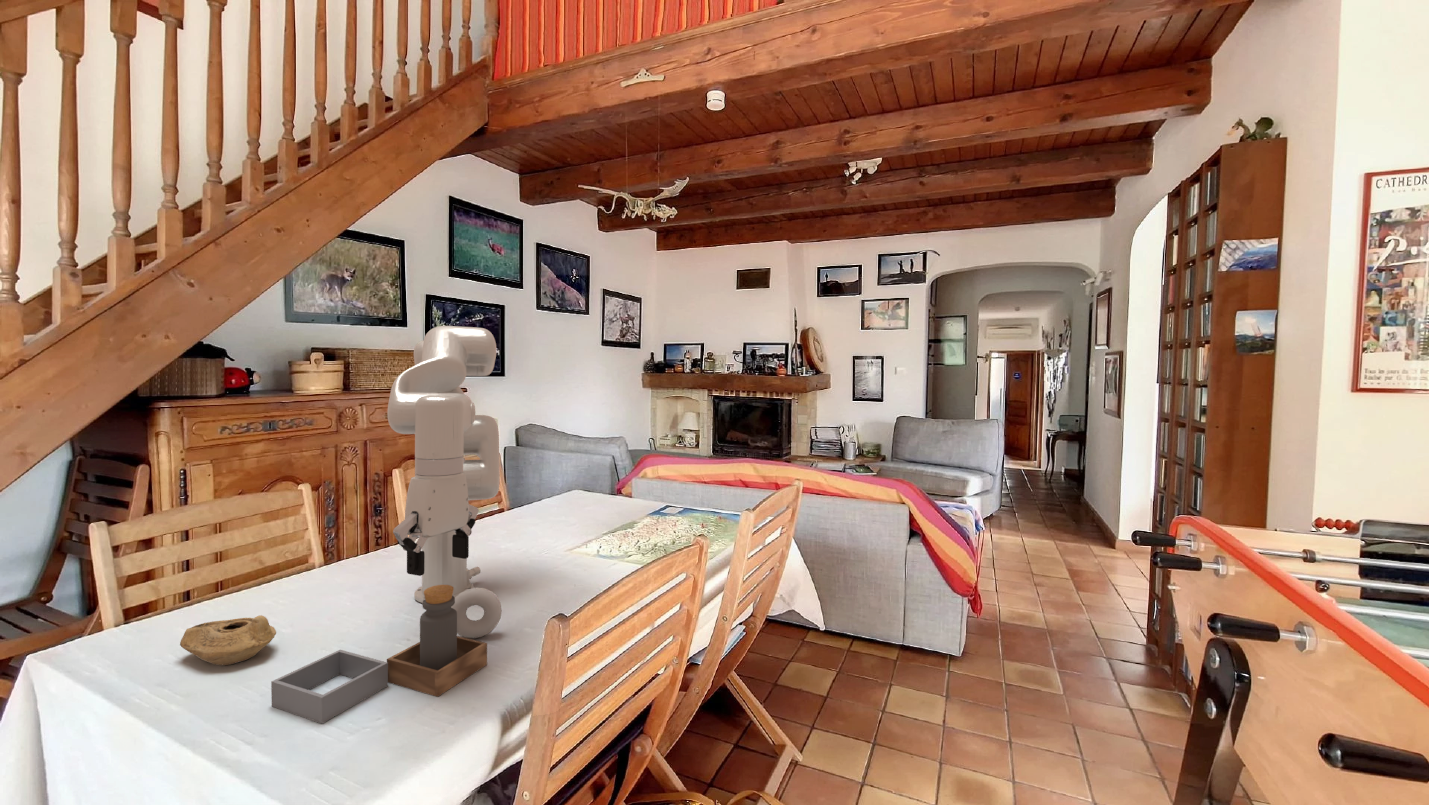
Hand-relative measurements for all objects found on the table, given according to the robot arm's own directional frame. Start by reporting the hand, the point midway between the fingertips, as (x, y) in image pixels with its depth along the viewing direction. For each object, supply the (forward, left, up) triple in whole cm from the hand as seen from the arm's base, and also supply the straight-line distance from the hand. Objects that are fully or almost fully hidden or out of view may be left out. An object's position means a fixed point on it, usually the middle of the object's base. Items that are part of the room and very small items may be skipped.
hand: (438, 565), depth 99 cm
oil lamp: (+11, -38, -20) cm, 44 cm away
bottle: (0, 0, -20) cm, 20 cm away
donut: (-13, -4, -20) cm, 24 cm away
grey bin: (+12, -10, -19) cm, 25 cm away
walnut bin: (0, 0, -19) cm, 19 cm away
